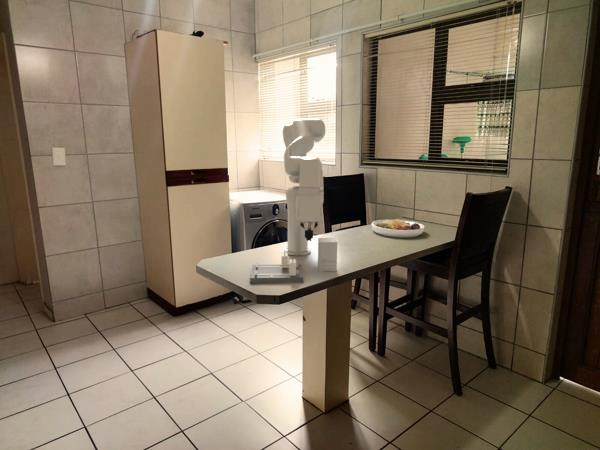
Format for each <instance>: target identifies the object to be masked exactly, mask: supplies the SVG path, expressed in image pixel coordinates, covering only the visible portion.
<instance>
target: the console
mask: <svg viewBox="0 0 600 450" xmlns="http://www.w3.org/2000/svg"><path fill="white" fill-rule="evenodd" d="M249 280H250V284H274V283H275V284H276V283H277V284H280V283H281V284H282V283H283V284H285V283H286V284H287V283H294V284H296V283H297V284H299V283H300V284H301V283H303V284H304V273H303V269H302V264H298V262H296V276H290V274H289V264H288V268H282V264H259V262H256V263H255V264H252V266H251V272H250V279H249Z"/></svg>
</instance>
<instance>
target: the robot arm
mask: <svg viewBox="0 0 600 450" xmlns="http://www.w3.org/2000/svg"><path fill="white" fill-rule="evenodd" d="M325 135H326V125H325V122H324V120H323V119H322V118H308V117H307V118H305V117H303V118H302V117H301V118H300V117H299V118H296V119H295V120H294V121H292V123H287V124H285V125H284V126H283V128H282V139H283V143H284V146H285V148H286V149H285V151H284V155H283V164H284V172H285V174H286V175H287V176H288V179H289V182H290V183H293V184H298V185H296V186H295V185H294V186H290V187H289V188H288V189H286V192H285V201H286V206H287V207H286V208H287V247H286V248H284V250H283V253H284V252H285V253H287V254H288V255H289V256H295V257H296V256H297V257H299V256H306V255H309V254H311V248H309V247H308V244H309V243H308V242H309V241H310V242H311V241H312V239H313V238H314V230H315V229H316V228H317V227H318V226H321V225H322V226H323V225H324V221H323V220H324V207H323V204H324V194H325V193H324V171H323V164H322V161H321V160H320V158H319V157H318V156H307V154H308V153H309V152H311V151H312V150H313V148H314V145H315V143H319V142H320V141H322V140H323V139H324V138H325ZM309 223H310V225H309ZM309 226H310V227H309Z"/></svg>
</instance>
